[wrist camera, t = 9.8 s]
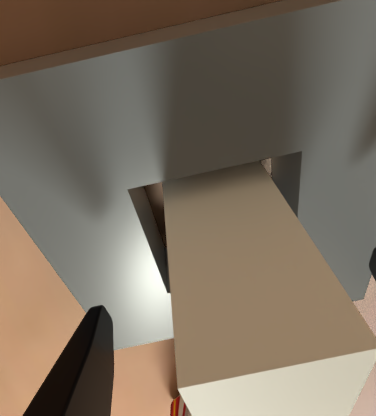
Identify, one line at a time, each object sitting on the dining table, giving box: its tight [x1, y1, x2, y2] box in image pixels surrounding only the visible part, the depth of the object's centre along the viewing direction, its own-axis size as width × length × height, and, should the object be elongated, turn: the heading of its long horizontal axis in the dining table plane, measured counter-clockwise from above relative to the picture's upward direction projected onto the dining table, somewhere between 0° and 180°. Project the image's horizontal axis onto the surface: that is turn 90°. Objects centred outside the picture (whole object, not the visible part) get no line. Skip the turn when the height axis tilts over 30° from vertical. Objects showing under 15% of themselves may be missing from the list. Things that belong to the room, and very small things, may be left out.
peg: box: [162, 161, 376, 416], centre depth 10 cm, size 4×4×9 cm
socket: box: [0, 0, 376, 350], centre depth 13 cm, size 14×14×3 cm
